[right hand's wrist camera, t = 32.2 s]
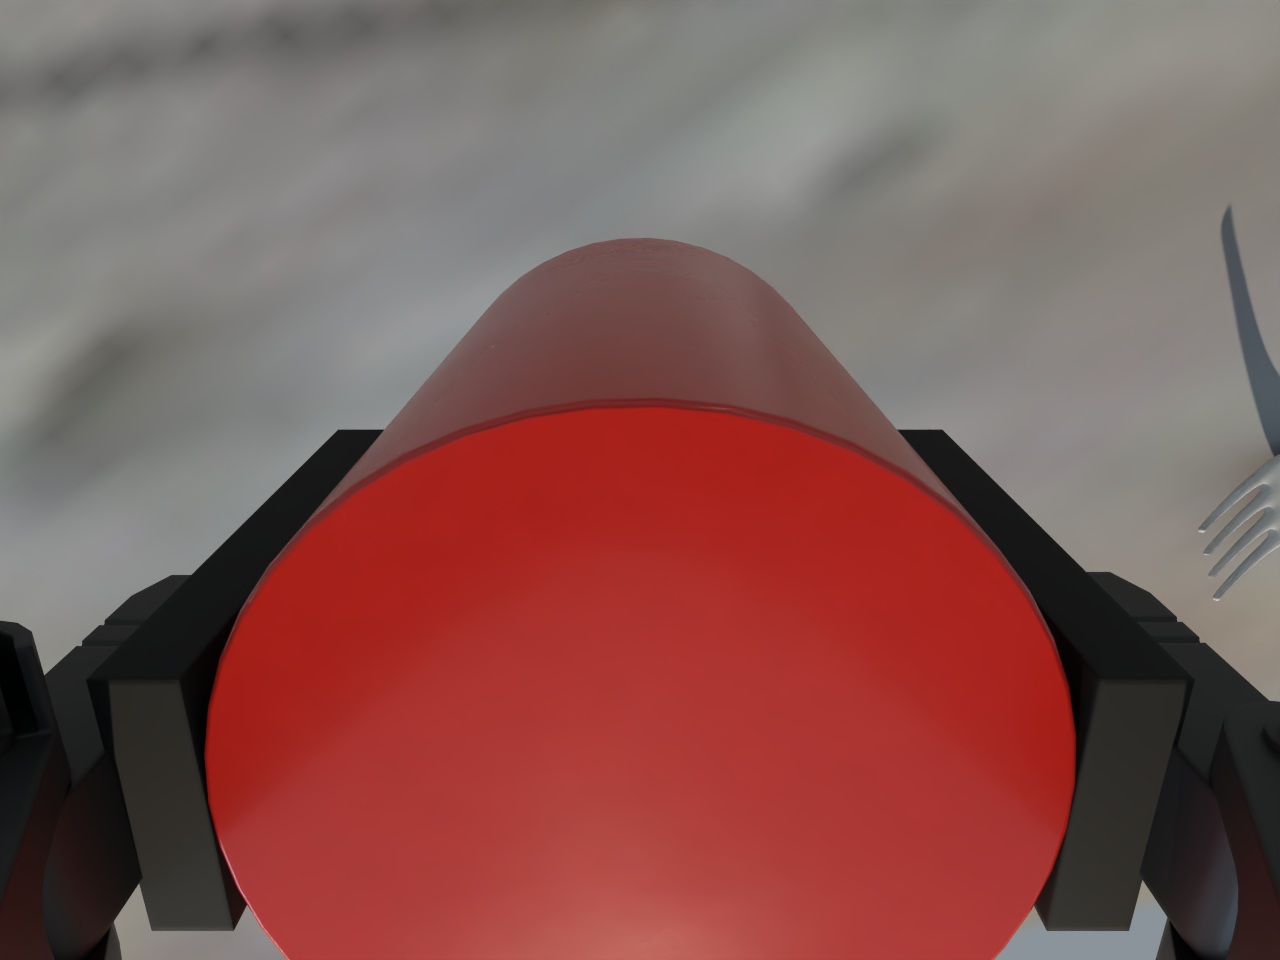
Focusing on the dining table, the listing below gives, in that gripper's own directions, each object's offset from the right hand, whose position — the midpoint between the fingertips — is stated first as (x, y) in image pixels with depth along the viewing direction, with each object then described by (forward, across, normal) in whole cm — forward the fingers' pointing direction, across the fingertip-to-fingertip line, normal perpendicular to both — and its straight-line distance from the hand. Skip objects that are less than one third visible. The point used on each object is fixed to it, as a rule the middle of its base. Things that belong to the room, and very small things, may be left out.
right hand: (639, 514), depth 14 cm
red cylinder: (+4, 0, 0) cm, 4 cm away
